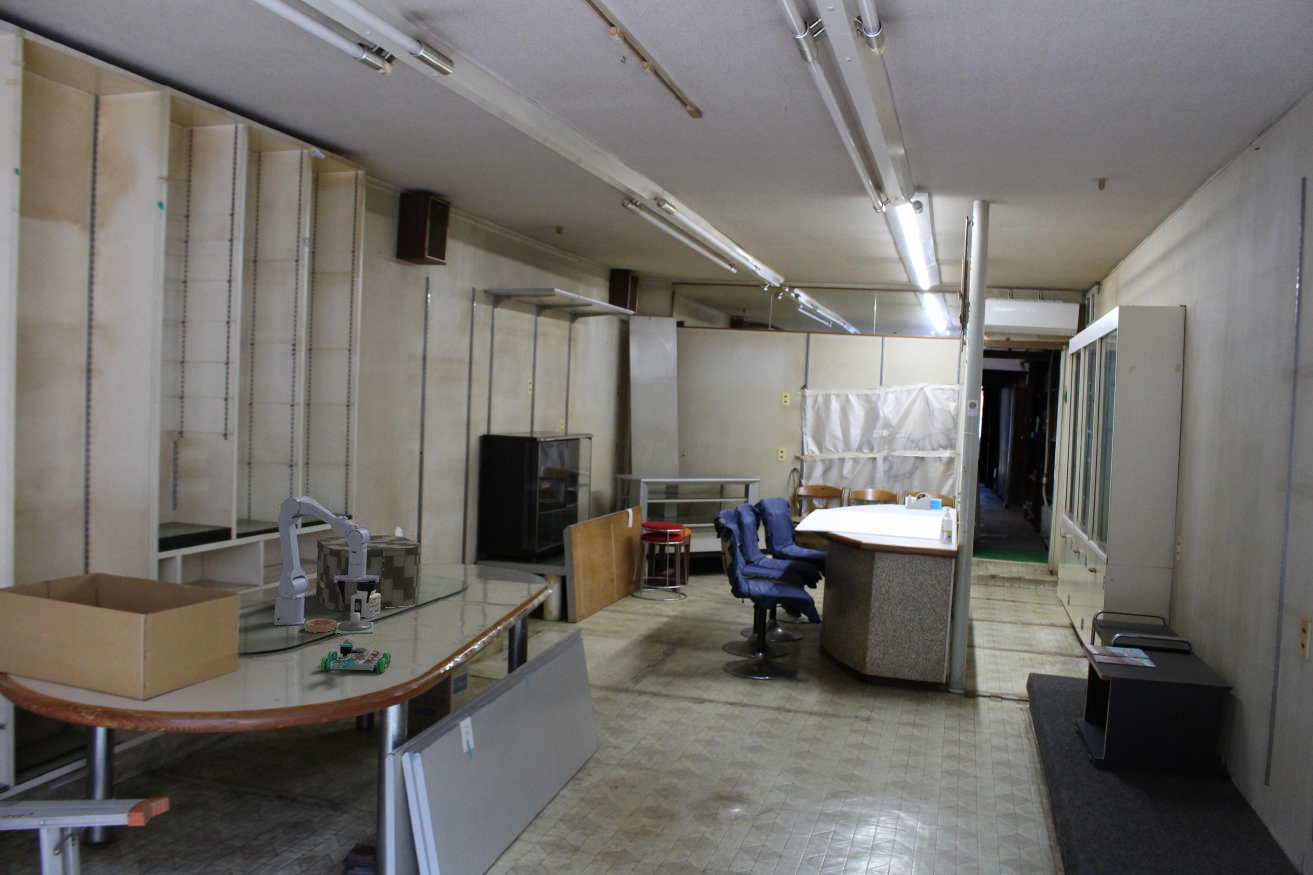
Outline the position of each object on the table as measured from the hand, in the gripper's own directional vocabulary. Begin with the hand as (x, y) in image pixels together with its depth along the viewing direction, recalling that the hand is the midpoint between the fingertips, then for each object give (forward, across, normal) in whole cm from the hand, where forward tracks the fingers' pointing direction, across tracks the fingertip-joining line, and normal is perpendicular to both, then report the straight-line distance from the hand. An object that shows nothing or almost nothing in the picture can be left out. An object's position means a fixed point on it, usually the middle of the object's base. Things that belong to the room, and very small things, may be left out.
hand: (355, 602), depth 308 cm
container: (+9, +3, +20) cm, 22 cm away
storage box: (+9, +3, +46) cm, 47 cm away
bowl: (+9, -11, 0) cm, 14 cm away
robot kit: (+9, +1, -52) cm, 53 cm away
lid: (+8, 0, 0) cm, 8 cm away
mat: (+9, 0, 0) cm, 9 cm away
